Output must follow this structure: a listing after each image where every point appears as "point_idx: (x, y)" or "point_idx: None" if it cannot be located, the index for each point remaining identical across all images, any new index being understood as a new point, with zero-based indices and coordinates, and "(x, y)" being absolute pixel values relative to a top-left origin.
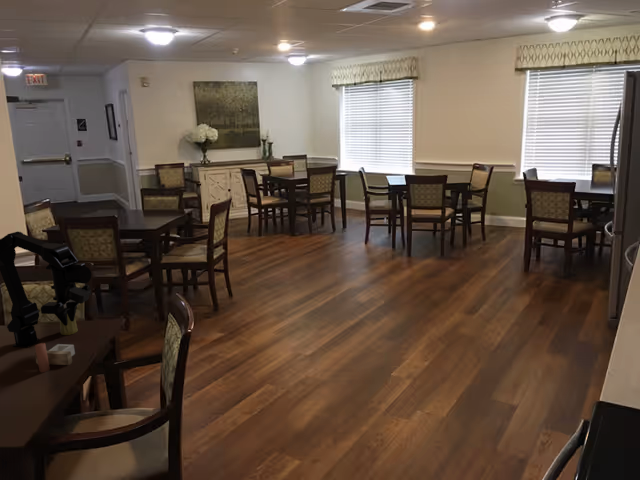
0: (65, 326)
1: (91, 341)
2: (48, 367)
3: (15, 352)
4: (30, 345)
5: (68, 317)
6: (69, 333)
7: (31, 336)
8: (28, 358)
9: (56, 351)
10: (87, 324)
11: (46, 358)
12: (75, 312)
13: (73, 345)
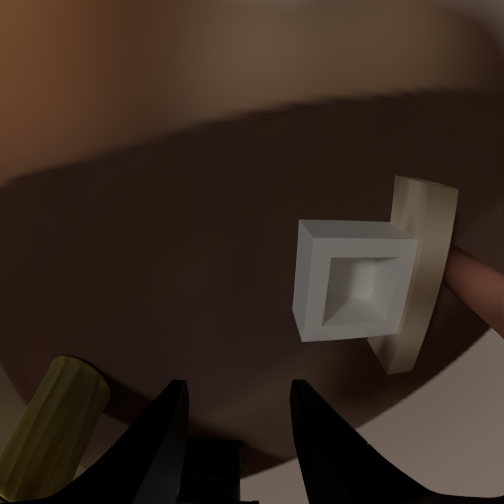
0: (90, 408)
1: (126, 222)
2: (459, 250)
3: (283, 448)
4: (230, 441)
5: (59, 427)
6: (96, 374)
7: (220, 467)
8: (337, 393)
9: (421, 276)
10: (10, 344)
11: (490, 268)
12: (122, 438)
13: (314, 236)
